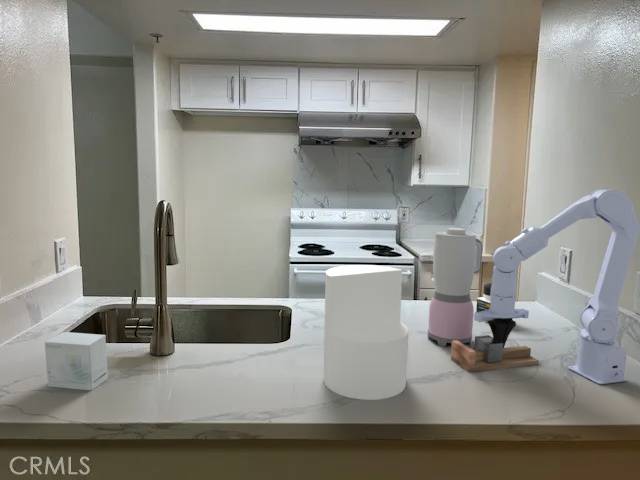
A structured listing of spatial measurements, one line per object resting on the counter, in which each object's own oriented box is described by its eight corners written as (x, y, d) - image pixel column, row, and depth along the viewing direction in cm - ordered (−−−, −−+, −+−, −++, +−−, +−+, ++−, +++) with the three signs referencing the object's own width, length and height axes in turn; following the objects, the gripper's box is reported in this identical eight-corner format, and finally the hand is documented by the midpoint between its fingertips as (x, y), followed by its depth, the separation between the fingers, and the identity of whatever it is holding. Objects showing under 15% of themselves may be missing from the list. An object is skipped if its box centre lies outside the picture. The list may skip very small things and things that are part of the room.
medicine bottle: (475, 318, 154) (477, 283, 153) (491, 315, 157) (493, 281, 156) (491, 324, 148) (494, 287, 146) (508, 322, 151) (510, 286, 149)
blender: (444, 350, 126) (450, 232, 121) (418, 335, 137) (423, 227, 132) (490, 343, 132) (498, 230, 127) (462, 329, 143) (469, 225, 138)
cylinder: (312, 369, 112) (313, 267, 108) (381, 359, 118) (385, 263, 115) (343, 405, 95) (346, 285, 91) (422, 392, 101) (428, 279, 98)
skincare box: (46, 387, 100) (43, 341, 99) (66, 375, 107) (63, 331, 105) (91, 391, 99) (88, 344, 97) (109, 378, 105) (106, 333, 104)
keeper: (501, 361, 115) (503, 343, 115) (487, 362, 114) (489, 344, 114) (487, 352, 121) (488, 335, 120) (473, 354, 120) (475, 336, 119)
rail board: (538, 364, 117) (540, 345, 117) (468, 372, 112) (470, 352, 111) (516, 352, 125) (518, 334, 124) (450, 359, 119) (451, 340, 119)
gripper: (516, 289, 122) (513, 339, 124) (468, 292, 118) (465, 343, 120) (536, 296, 115) (531, 348, 117) (485, 299, 111) (481, 353, 113)
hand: (499, 346), depth 118 cm, fingers closed
